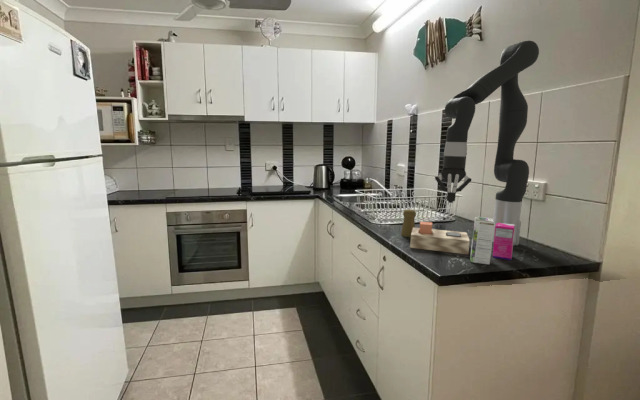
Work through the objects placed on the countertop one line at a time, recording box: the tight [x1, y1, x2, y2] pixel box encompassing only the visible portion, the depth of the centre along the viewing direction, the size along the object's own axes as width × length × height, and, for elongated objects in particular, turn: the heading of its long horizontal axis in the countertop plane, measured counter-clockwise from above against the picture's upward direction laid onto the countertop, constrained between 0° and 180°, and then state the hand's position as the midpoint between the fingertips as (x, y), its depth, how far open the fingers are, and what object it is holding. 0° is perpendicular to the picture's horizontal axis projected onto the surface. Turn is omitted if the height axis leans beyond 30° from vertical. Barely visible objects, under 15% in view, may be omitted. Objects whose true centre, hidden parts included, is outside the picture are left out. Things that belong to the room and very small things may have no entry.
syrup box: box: [469, 216, 495, 265], centre depth 109 cm, size 6×6×14 cm
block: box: [409, 226, 471, 255], centre depth 125 cm, size 20×12×5 cm, turn 71°
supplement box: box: [492, 223, 515, 261], centre depth 114 cm, size 6×6×12 cm
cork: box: [400, 208, 417, 238], centre depth 140 cm, size 6×6×11 cm
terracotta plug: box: [419, 221, 433, 234], centre depth 126 cm, size 4×4×5 cm
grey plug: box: [447, 232, 460, 237], centre depth 123 cm, size 4×4×5 cm
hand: (450, 202), depth 121 cm, fingers closed
